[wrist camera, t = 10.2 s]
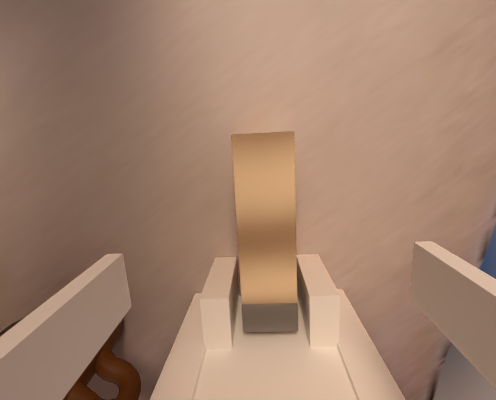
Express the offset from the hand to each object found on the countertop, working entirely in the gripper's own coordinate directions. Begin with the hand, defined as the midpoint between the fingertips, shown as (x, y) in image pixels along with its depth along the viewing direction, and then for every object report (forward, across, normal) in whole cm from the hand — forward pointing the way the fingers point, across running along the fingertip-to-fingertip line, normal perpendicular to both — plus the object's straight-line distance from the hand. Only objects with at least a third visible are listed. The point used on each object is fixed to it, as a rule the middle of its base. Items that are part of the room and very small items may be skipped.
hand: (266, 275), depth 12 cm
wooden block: (+12, 0, -1) cm, 12 cm away
